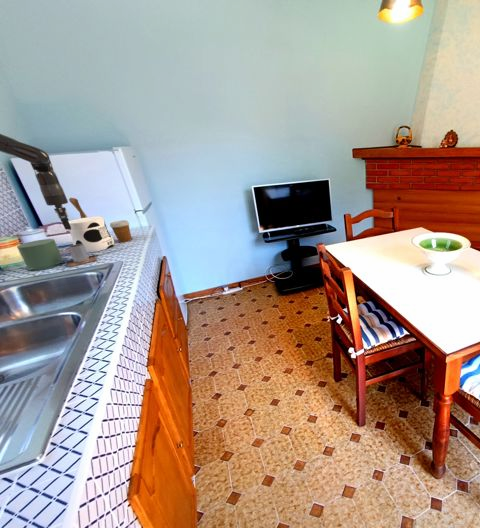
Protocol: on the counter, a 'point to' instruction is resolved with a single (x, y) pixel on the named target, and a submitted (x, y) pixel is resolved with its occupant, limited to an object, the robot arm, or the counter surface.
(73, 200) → the wooden handled tool
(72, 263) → the coaster
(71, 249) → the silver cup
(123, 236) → the disposable coffee cup
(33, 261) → the green tapered cylinder
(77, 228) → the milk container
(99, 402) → the counter surface
